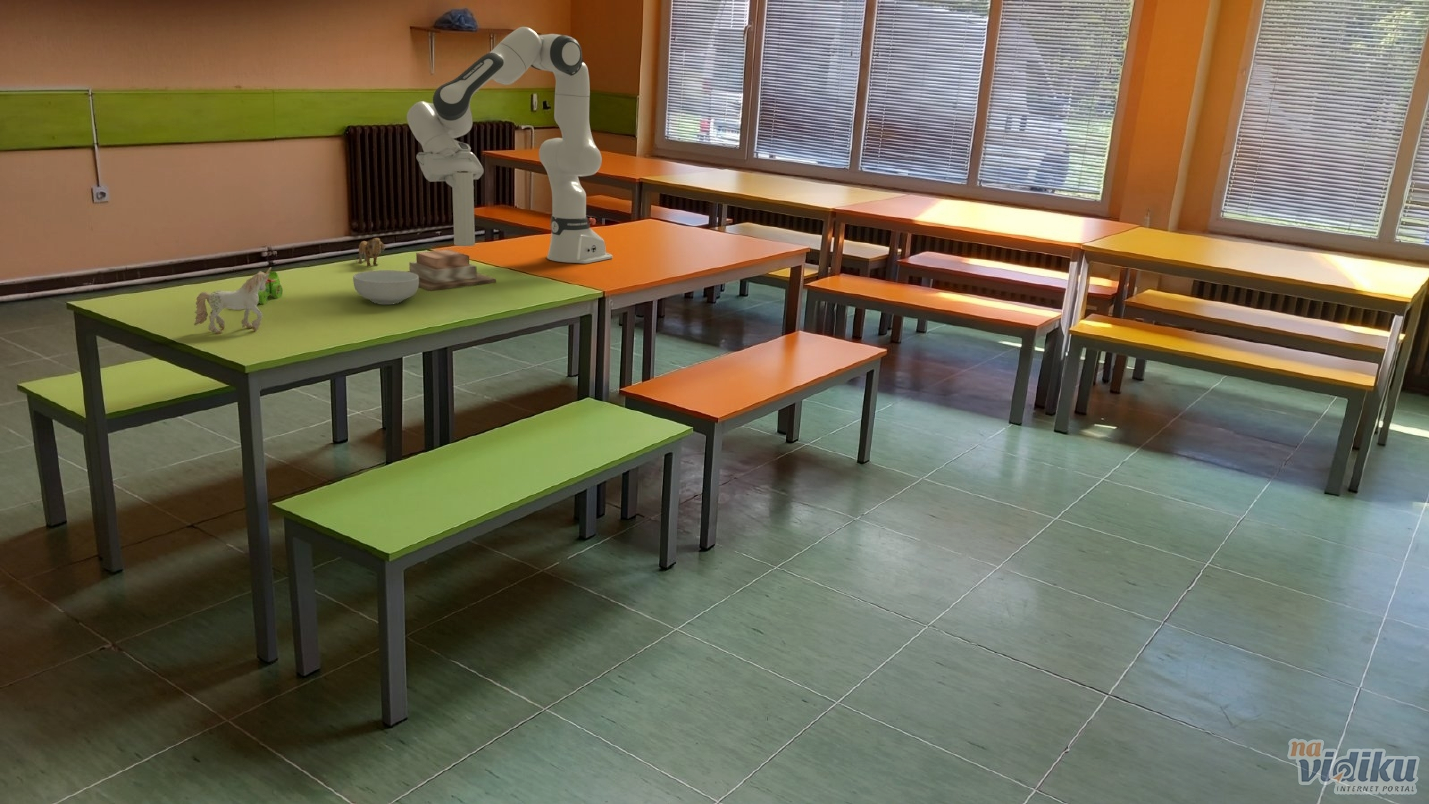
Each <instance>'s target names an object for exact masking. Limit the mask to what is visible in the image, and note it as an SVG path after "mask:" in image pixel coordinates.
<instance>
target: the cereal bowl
mask: <svg viewBox="0 0 1429 804" xmlns="http://www.w3.org/2000/svg"><path fill="white" fill-rule="evenodd" d="M352 281H353V282H352V283H353V286H354V289H355V291H356V293H357V294H358V295H359V296H361V297H363V298H364V299H367V300H370V302H371V303H373V302H374V303H373V304H376V303H379V304H378V305H394V304H393V303H397V304H400V303H402V302H403V301H404V300H406V299H409V298H411V297H413V296H414V295H415V294H416V293H417V291H418V288H419V286H418V285H419V276H418V275H417V274H414V273H411V272H405V271H404V270H383V269H381V270H371V271H369V270H368V271H362V272H357V273H356V274H353V276H352ZM399 302H400V303H399Z"/></svg>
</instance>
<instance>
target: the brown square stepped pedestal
mask: <svg viewBox="0 0 1429 804" xmlns="http://www.w3.org/2000/svg"><path fill="white" fill-rule="evenodd" d="M415 255H416V257H415V258H416V259H415V261H413V262H412V261H410V262H409V270H406V271H405V272H411V273H414V274H417V275H418V276H419V285H418V288H422V289H423V290H424V289H425V290H428V291H439V290H445V289H455V288H461V287H462V288H463V287H469V286H477V285H485V284H492V283H493V284H494V283H497V279H496V278H494V277H491V276H488V275H486V274H482V273H479V272H477V269H478V268H477V267H478V266H477V265H474V264H471V263H470V255H467V254H464V253H461V252H457V251H455V250H452V249H443V250H441V249H440V250H432V251H422V252H421V251H419V252H416V254H415Z"/></svg>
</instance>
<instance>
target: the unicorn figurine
mask: <svg viewBox="0 0 1429 804" xmlns="http://www.w3.org/2000/svg"><path fill="white" fill-rule="evenodd" d="M271 269H272V267H269V268H268V269H267V270H266V272H263V271H261V270H260V271H258V272H257V273H256V274H254V275H253V276H251V278H249V279H247V280H246V281H245V282H244V283H243V284H242V285H241V286H240V288H237V289H236V290H232V291H229V290H216V291H212V292H207V291H203V292H202V291H201V292H200V293H199V294H198V296H197V297H196V302H195V305H196V307H195V308H196V309H197V310H195V311H194V314H196V316H195V318H194V319H195V322H194V324H193V325H194V326H197V325H201V324H203V323H205V322H206V321H207V319H208V318H209V324H208V330H209V331H210V333H213V332H214V333H215V334H217V335H221V334H222V333H223V331H222V330H225V326H226V324H225V319H224V318H222V317H221V316H220V315H219V314H220V312H221V311H222V310H223V309H229V310H234V311H237V310H238V311H240V310H244V316H243V318H242V320H241V322H240V323H241V326H242V328H243V329H244V328H245V327H246V328H247V329H252V330H254V331H253V332H256V331H257V330H259V327H260V326H261V325H262V324H261V322H262V319H263V312H261V310H260V309H259V308H258V304H259V303H258V301H259V297H258V292H259V289H260V291H264V290H266V287H265V283H266V282H267V279H268V276H269V275H270V273H269V272H271ZM268 273H269V274H268ZM206 302H207V303H208V306H209V307H210V308H211V311H210V313H209V314H210V315H209V314H208V311H207V305H206ZM250 311H251V312H253V313H255V314H256V315H257V318H256V319H254V320H253V321H252V322H251V323H250V322H249V315H250ZM208 315H209V316H208ZM215 319H216V320H215ZM216 324H218V327H217V326H216ZM251 327H253V328H251ZM221 329H222V330H221Z"/></svg>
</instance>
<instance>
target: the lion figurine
mask: <svg viewBox="0 0 1429 804" xmlns="http://www.w3.org/2000/svg"><path fill="white" fill-rule="evenodd" d="M385 249H386V244H384V243H383V242H382V241H381V239H380V238H379V237H374V238H372V239H370V240H368V241H365V240H363V241H361V242H360V243H359V245H358V254H359V255H358V256H357V257H356V259H359V260H358V264H363V261H362V260H364V261H365V262H366V267H367V266H371V265H373V266H374V265H378V266H379V263H377V259H378V257H379V255H380V254H381V252H382V251H383V252H384V251H385ZM363 255H364V259H363ZM371 259H373V260H372V261H373V262H372V264H371V261H370V260H371Z"/></svg>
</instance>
